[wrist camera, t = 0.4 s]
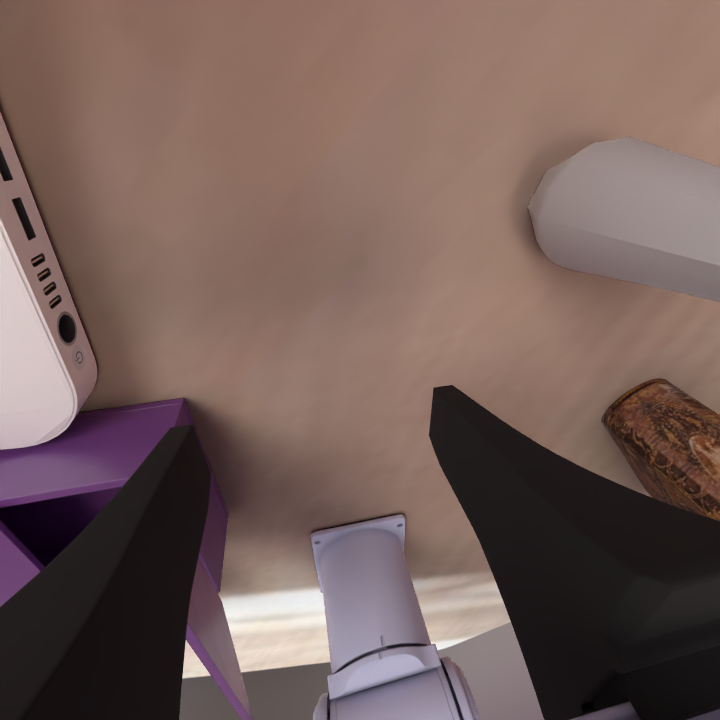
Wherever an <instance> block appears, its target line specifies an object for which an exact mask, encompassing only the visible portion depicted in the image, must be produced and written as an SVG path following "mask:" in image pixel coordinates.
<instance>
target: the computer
mask: <svg viewBox="0 0 720 720" xmlns="http://www.w3.org/2000/svg"><path fill="white" fill-rule="evenodd" d="M96 381H97V366H96V361H95V358H94V355H93V352H92V350H91V347H90V345H89V342H88V339H87V337H86V334H85V332H84V329H83V326H82V324H81V321H80V319H79V316H78V313H77V311H76V308H75V305H74V303H73V300H72V298H71V295H70V292H69V290H68V287H67V285H66V282H65V279H64V277H63V274H62V272H61V269H60V266H59V264H58V261H57V259H56V256H55V253H54V251H53V248H52V246H51V243H50V240H49V238H48V235H47V232H46V230H45V227H44V225H43V222H42V219H41V217H40V214H39V212H38V209H37V206H36V204H35V201H34V199H33V196H32V193H31V191H30V188H29V186H28V183H27V180H26V178H25V175H24V173H23V170H22V167H21V165H20V162H19V159H18V157H17V154H16V152H15V149H14V146H13V144H12V141H11V139H10V136H9V133H8V131H7V128H6V126H5V123H4V120H3V118H2V115H1V113H0V450H2V449H14V448H24V447H29V446H34V445H38V444H41V443H44V442H47V441H49V440H51V439H53V438H55V437H57V436H58V435H60V434H61V433H62V432H63V431H65V430H66V429H67V428H68V427H69V425H70V424H71V422H72V421H73V419H74V418H75V416H76V415H77V413H78V412H79V410H80V409H81V407H82V406H83V404H84V403H85V401H86V400H87V398H88V397H89V395H90V394H91V392H92V391H93V389H94V387H95V384H96Z"/></svg>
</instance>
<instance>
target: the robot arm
mask: <svg viewBox="0 0 720 720" xmlns="http://www.w3.org/2000/svg"><path fill="white" fill-rule="evenodd" d="M429 437H430V440H431V442H432V445H433V448H434V451H435V453H436V456H437V459H438V461H439V464H440V466H441V468H442V470H443V472H444V474H445V476H446V477H447V479H448V481H449V483H450V485H451V487H452V489H453V491H454V493H455V495H456V497H457V498H458V500H459V502H460V504H461V506H462V508H463V510H464V512H465V514H466V515H467V517H468V519H469V521H470V523H471V525H472V527H473V529H474V531H475V533H476V535H477V537H478V539H479V541H480V544H481V546H482V549H483V551H484V554H485V556H486V558H487V561H488V563H489V566H490V568H491V571H492V573H493V576H494V578H495V581H496V583H497V586H498V588H499V591H500V594H501V596H502V599H503V601H504V604H505V607H506V609H507V612H508V615H509V617H510V620H511V623H512V625H513V628H514V631H515V634H516V636H517V639H518V642H519V645H520V648H521V651H522V653H523V656H524V659H525V662H526V665H527V668H528V671H529V674H530V677H531V680H532V683H533V686H534V689H535V692H536V695H537V698H538V701H539V705H540V708H541V711H542V714H543V717H544V719H545V720H720V521H718V520H715V519H712V518H709V517H706V516H703V515H700V514H697V513H693V512H690V511H687V510H684V509H681V508H678V507H675V506H673V505H670V504H667V503H665V502H662V501H659V500H657V499H654V498H652V497H649V496H646V495H644V494H641V493H639V492H636V491H634V490H631V489H629V488H626V487H624V486H622V485H619V484H617V483H615V482H613V481H610V480H608V479H606V478H604V477H602V476H599V475H597V474H595V473H593V472H591V471H588V470H586V469H584V468H582V467H580V466H578V465H576V464H574V463H572V462H571V461H569V460H567V459H565V458H563V457H561V456H559V455H557V454H555V453H554V452H552V451H550V450H548V449H546V448H545V447H543V446H541V445H540V444H538V443H536V442H535V441H533V440H531V439H530V438H528V437H527V436H525V435H523V434H522V433H520V432H519V431H517V430H515V429H514V428H512V427H511V426H509V425H508V424H506V423H505V422H503V421H502V420H501V419H499V418H498V417H496V416H495V415H493V414H492V413H490V412H489V411H488V410H486V409H485V408H483V407H482V406H481V405H479V404H478V403H477V402H475V401H474V400H472V399H471V398H470V397H468V396H467V395H466V394H464V393H463V392H461V391H460V390H459V389H457V388H456V387H454V386H453V385H449V386H442V387H436V388H434V389H433V400H432V410H431V421H430V431H429ZM210 482H211V471H210V469H209V466H208V463H207V461H206V458H205V455H204V453H203V450H202V447H201V445H200V442H199V439H198V436H197V434H196V431H195V428H194V426H193V424H191V425H185V426H178V427H171V428H170V429H169V430H168V431H167V432H166V434H165V435H164V436H163V437H162V438H161V440H160V441H159V442H158V443H157V445H156V446H155V447H154V448H153V450H152V451H151V452H150V454H149V455H148V456H147V457H146V459H145V460H144V461H143V462H142V464H141V465H140V466H139V467H138V468H137V470H136V471H135V472H134V473H133V474H132V476H131V477H130V478H129V479H128V481H127V482H126V483H125V484H124V485H123V487H122V488H121V489H120V490H119V491H118V492H117V494H116V495H115V496H114V497H113V498H112V499H111V500H110V501H109V503H108V504H107V505H106V506H105V507H104V508H103V509H102V510H101V511H100V513H99V514H98V515H97V516H96V517H95V518H94V519H93V520H92V521H91V523H90V524H89V525H88V526H87V527H86V528H85V529H84V530H83V531H82V532H81V533H80V534H79V535H78V536H77V537H76V538H75V539H74V540H73V541H72V542H71V543H70V544H69V545H68V546H67V547H66V548H65V549H64V550H63V551H62V552H61V553H60V554H59V555H58V556H57V557H56V558H54V559H53V560H52V561H51V562H50V563H49V564H48V565H47V566H46V567H45V568H44V569H43V570H42V571H41V572H40V573H38V574H37V575H36V576H35V577H34V578H33V579H32V580H30V581H29V582H28V583H27V584H26V585H25V586H24V587H22V588H21V589H20V590H19V591H18V592H17V593H16V594H14V595H13V596H12V597H11V598H10V599H9V600H8V601H6V602H5V603H4V604H3V605H2V606H1V607H0V720H179V713H180V698H181V685H182V674H183V663H184V651H185V641H186V632H187V622H188V613H189V604H190V598H191V592H192V586H193V581H194V576H195V572H196V567H197V562H198V557H199V552H200V547H201V543H202V538H203V533H204V528H205V523H206V518H207V513H208V507H209V497H210ZM405 521H406V520H405V517H404V515H401V514H399V515H394V516H389V517H384V518H380V519H375V520H370V521H365V522H360V523H355V524H350V525H346V526H341V527H336V528H331V529H326V530H321V531H316V532H314V533H312V534H311V544H312V549H313V554H314V559H315V564H316V570H317V575H318V580H319V585H320V590H321V593H323V596H324V605H325V614H326V623H327V632H328V642H329V651H330V660H331V669H332V674H331V675H329V676H328V687H329V692H328V693H325V694H322V695H321V696H320V698H319V702H318V704H317V706H316V708H315V710H314V714H313V720H481V719H480V716H479V713H478V710H477V707H476V704H475V701H474V698H473V695H472V693H471V691H470V688H469V685H468V683H467V680H466V678H465V676H464V674H463V672H462V670H461V668H460V667H459V666H458V665H457V664H456V663H455V662H453V661H452V660H451V659H450V658H449V657H444V658H441V659H440V658H439V655H438V652H437V648H436V645H435V644H431V642H430V639H429V636H428V632H427V629H426V626H425V622H424V619H423V616H422V613H421V609H420V606H419V603H418V599H417V596H416V593H415V590H414V586H413V583H412V580H411V577H410V573H409V570H408V567H407V563H406V560H405V557H404V540H405Z"/></svg>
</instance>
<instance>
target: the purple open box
mask: <svg viewBox="0 0 720 720" xmlns="http://www.w3.org/2000/svg"><path fill="white" fill-rule="evenodd" d="M191 424H193V426H194V428H195V425H194V422H193V420H192V417H191V415H190V412H189V409H188V407H187V404H186V402H185V399H184V398H179V399H172V400H165V401H159V402H152V403H145V404H138V405H131V406H124V407H117V408H110V409H104V410H97V411H90V412H83V413H77V415H76V416H75V418H74V419H73V421H72V422H71V424H70V425H69V427H68V428H67V429H66V430H65V431H63V432H62V433H61V434H60V435H58V436H57V437H55V438H53V439H51V440H49V441H47V442H44V443H41V444H38V445H34V446H29V447H24V448H14V449H2V450H0V607H1V606H2V605H3V604H4V603H5V602H6V601H8V600H9V599H10V598H11V597H12V596H13V595H14V594H16V593H17V592H18V591H19V590H20V589H21V588H22V587H24V586H25V585H26V584H27V583H28V582H29V581H30V580H32V579H33V578H34V577H35V576H36V575H37V574H38V573H40V572H41V571H42V570H43V569H44V568H45V567H46V566H47V565H48V564H49V563H50V562H51V561H52V560H53V559H54V558H56V557H57V556H58V555H59V554H60V553H61V552H62V551H63V550H64V549H65V548H66V547H67V546H68V545H69V544H70V543H71V542H72V541H73V540H74V539H75V538H76V537H77V536H78V535H79V534H80V533H81V532H82V531H83V530H84V529H85V528H86V527H87V526H88V525H89V524H90V523H91V521H92V520H93V519H94V518H95V517H96V516H97V515H98V514H99V513H100V511H101V510H102V509H103V508H104V507H105V506H106V505H107V504H108V503H109V501H110V500H111V499H112V498H113V497H114V496H115V495H116V494H117V492H118V491H119V490H120V489H121V488H122V487H123V485H124V484H125V483H126V482H127V481H128V479H129V478H130V477H131V476H132V474H133V473H134V472H135V471H136V470H137V468H138V467H139V466H140V465H141V464H142V462H143V461H144V460H145V459H146V457H147V456H148V455H149V454H150V452H151V451H152V450H153V448H154V447H155V446H156V445H157V443H158V442H159V441H160V440H161V438H162V437H163V436H164V435H165V434H166V432H167V431H168V430H169V429H170V428H171V427H178V426H185V425H191ZM195 431H196V434H197V436H198V433H197V430H196V428H195ZM198 439H199V442H200V445H201V447H202V450H203V453H204V455H205V458H206V461H207V463H208V466H209V469H210V471H211V482H210V497H209V507H208V513H207V518H206V523H205V528H204V533H203V538H202V543H201V547H200V552H199V558H200V560H201V562H202V564H203V566H204V568H205V570H206V572H207V574H208V576H209V577H210V579H211V581H212V583H213V585H214V587H215V589H216V591H217V593H218V592H220V587H221V578H222V569H223V560H224V550H225V541H226V532H227V523H228V511H227V509H226V506H225V504H224V501H223V498H222V496H221V493H220V491H219V488H218V485H217V483H216V480H215V477H214V475H213V472H212V470H211V467H210V464H209V462H208V459H207V457H206V454H205V451H204V449H203V446H202V443H201V441H200V438H199V436H198Z"/></svg>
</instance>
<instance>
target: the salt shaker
mask: <svg viewBox="0 0 720 720" xmlns="http://www.w3.org/2000/svg"><path fill="white" fill-rule="evenodd" d="M527 208H528V211H529V214H530V218H531V221H532V225H533V228H534V232H535V236H536V240H537V243H538V244H539V246H540V247H541V249H542V251H543V252H544V254H545V255H546V257H547V258H548V260H550V261H551V262H552V263H553V264H556V265H559V266H562V267H564V268H567V269H570V270H573V271H578V272H583V273H588V274H593V275H598V276H603V277H607V278H612V279H617V280H622V281H627V282H632V283H637V284H642V285H647V286H652V287H657V288H661V289H665V290H670V291H674V292H678V293H683V294H687V295H691V296H696V297H700V298H704V299H709V300H713V301H717V302H720V167H718V166H715V165H712V164H709V163H707V162H704V161H701V160H698V159H695V158H692V157H689V156H686V155H683V154H680V153H677V152H674V151H671V150H668V149H665V148H662V147H659V146H657V145H654V144H651V143H648V142H645V141H642V140H639V139H636V138H633V137H630V136H629V137H624V138H618V139H612V140H606V141H600V142H595V143H592V144H590V145H589V146H587V147H586V148H584V149H583V150H581V151H580V152H578V153H576V154H575V155H573V156H572V157H570V158H569V159H567V160H565V161H563V162H561V163H559V164H557V165H555V166H553V167H551V168H549V169H548V170H547V171H546V173H545V174H544V176H543V178H542V180H541V182H540V184H539V186H538V188H537V190H536V191H535V193H534V195H533V197H532V199H531V201H530V203H529V205H528V207H527Z"/></svg>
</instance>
